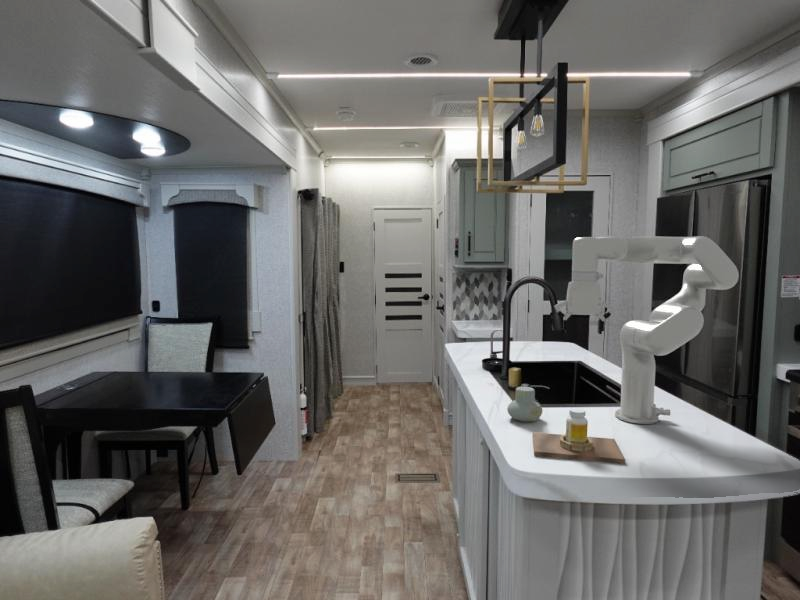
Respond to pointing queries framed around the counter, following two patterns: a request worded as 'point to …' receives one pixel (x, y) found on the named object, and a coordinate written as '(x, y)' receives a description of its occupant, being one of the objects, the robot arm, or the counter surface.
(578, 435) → the supplement bottle
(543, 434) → the wooden board
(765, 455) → the counter surface
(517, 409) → the air freshener
